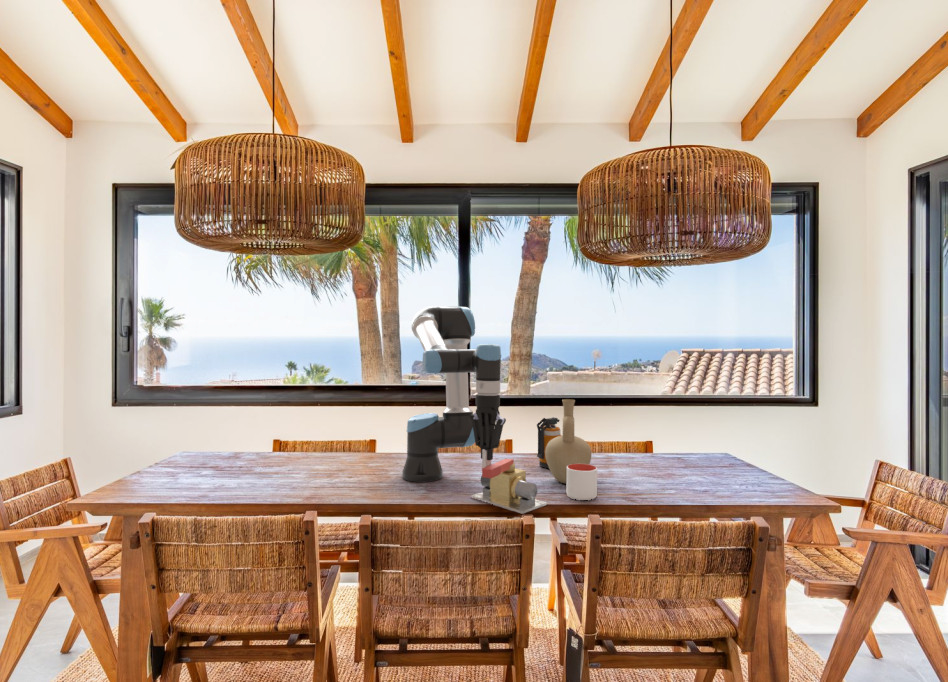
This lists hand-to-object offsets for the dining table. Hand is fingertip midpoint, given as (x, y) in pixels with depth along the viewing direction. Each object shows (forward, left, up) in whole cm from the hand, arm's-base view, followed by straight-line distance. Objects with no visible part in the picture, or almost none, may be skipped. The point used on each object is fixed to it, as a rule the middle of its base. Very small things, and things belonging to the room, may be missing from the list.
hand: (486, 469), depth 170 cm
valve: (0, +10, -12) cm, 16 cm away
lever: (+1, +4, -2) cm, 5 cm away
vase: (0, +43, -12) cm, 45 cm away
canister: (-18, +55, -12) cm, 60 cm away
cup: (+14, +31, -12) cm, 36 cm away
